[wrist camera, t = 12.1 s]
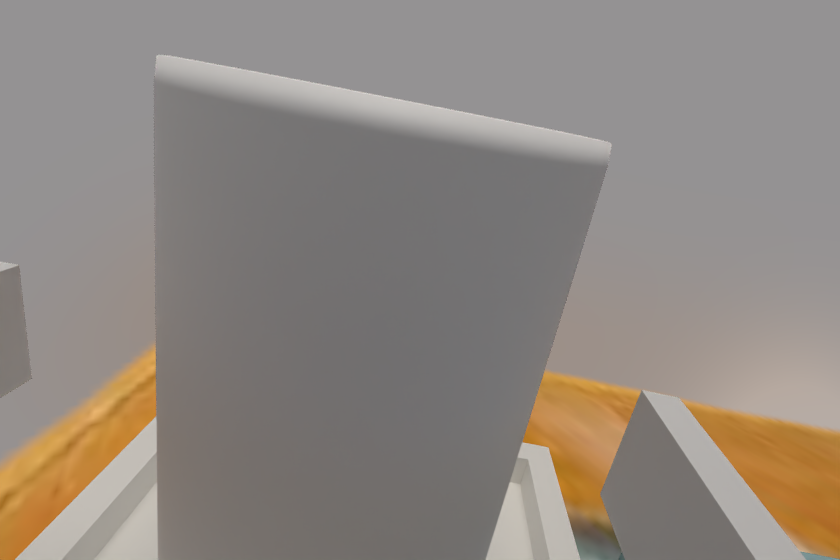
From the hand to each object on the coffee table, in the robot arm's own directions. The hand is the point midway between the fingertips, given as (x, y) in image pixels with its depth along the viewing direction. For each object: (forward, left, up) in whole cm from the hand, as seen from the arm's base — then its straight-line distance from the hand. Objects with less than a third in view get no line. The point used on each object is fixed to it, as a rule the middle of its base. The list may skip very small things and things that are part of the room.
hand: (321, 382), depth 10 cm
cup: (-1, 0, -10) cm, 10 cm away
